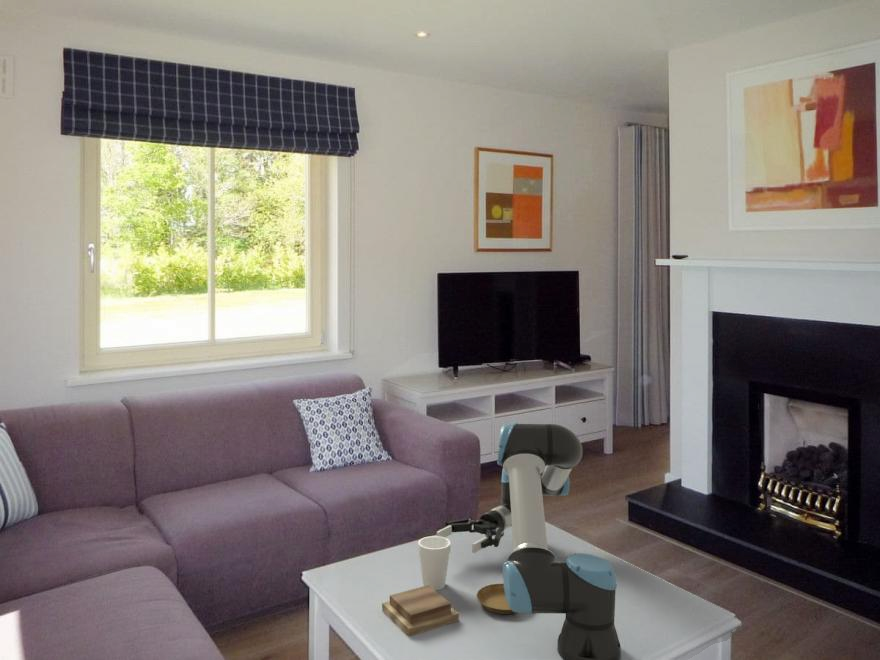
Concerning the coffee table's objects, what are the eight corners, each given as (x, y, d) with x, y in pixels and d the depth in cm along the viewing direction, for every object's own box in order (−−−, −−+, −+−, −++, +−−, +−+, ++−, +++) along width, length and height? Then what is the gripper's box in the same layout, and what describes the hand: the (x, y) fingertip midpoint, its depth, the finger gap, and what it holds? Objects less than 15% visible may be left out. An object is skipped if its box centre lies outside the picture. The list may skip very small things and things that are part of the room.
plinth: (458, 620, 191) (458, 604, 191) (408, 636, 184) (408, 619, 183) (430, 596, 204) (430, 581, 204) (382, 610, 196) (382, 594, 196)
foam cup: (413, 590, 208) (413, 546, 207) (423, 576, 217) (423, 534, 215) (445, 595, 205) (445, 551, 204) (454, 580, 214) (454, 538, 213)
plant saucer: (532, 618, 193) (532, 609, 193) (477, 618, 193) (477, 608, 193) (527, 592, 208) (527, 583, 207) (475, 591, 208) (475, 583, 208)
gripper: (528, 542, 227) (488, 566, 210) (464, 522, 242) (423, 542, 226) (528, 519, 226) (489, 541, 209) (464, 500, 241) (423, 519, 225)
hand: (454, 542), depth 218 cm, fingers open, 13 cm apart
